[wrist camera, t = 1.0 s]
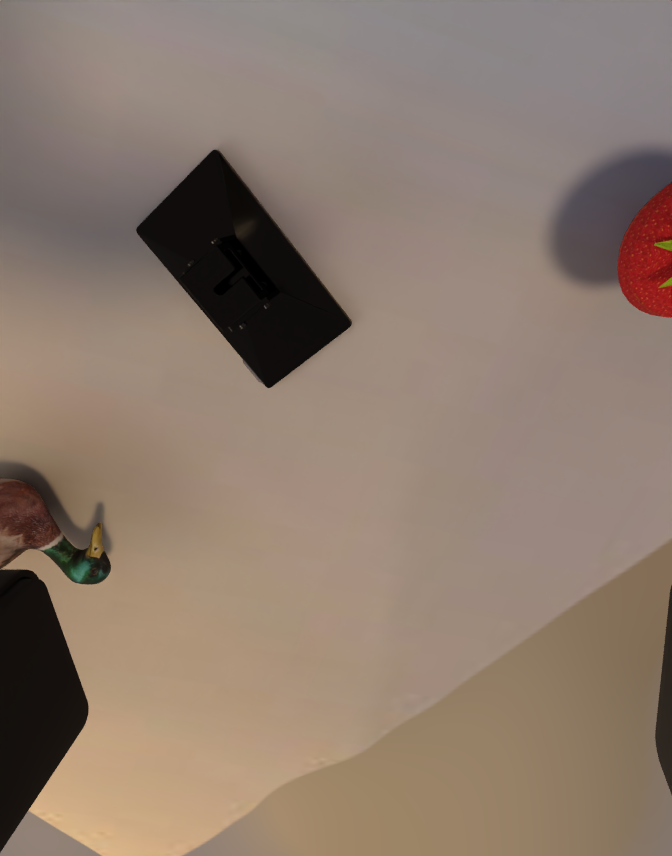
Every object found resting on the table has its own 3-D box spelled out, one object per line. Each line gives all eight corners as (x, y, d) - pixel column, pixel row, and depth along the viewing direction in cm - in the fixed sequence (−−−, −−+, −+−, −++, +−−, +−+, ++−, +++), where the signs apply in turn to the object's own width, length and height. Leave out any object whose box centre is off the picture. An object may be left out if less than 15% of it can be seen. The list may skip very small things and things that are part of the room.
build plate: (354, 322, 36) (342, 343, 32) (267, 389, 38) (245, 416, 34) (217, 147, 33) (184, 144, 29) (134, 232, 36) (93, 240, 32)
